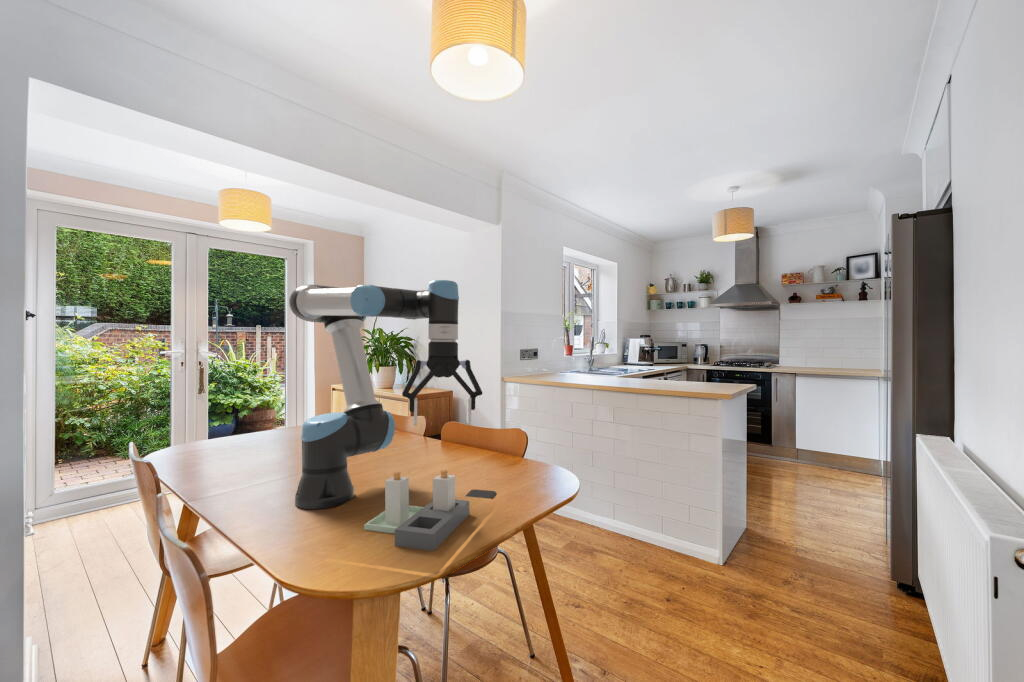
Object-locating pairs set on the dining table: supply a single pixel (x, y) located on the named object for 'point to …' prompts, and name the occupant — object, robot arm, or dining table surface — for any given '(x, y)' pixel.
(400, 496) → the plug
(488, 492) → the smartphone
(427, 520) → the gray block holder
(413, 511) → the tray
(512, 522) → the dining table surface
